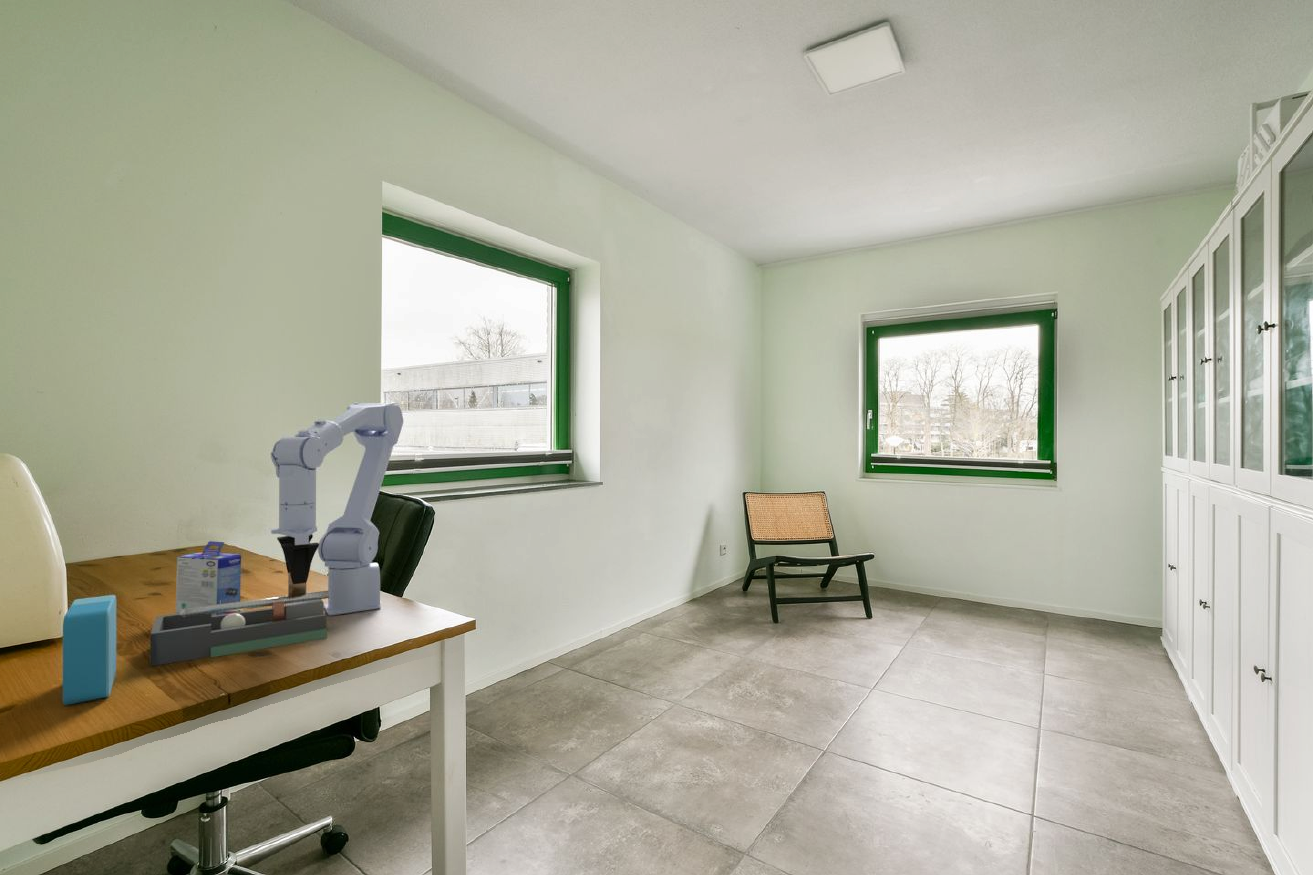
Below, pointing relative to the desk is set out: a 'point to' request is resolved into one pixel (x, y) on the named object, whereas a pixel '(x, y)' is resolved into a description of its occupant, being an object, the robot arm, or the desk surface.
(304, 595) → the kicker
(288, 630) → the pitch
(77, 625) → the blue flat block
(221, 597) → the ink cartridge box
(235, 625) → the ball
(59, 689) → the desk surface
